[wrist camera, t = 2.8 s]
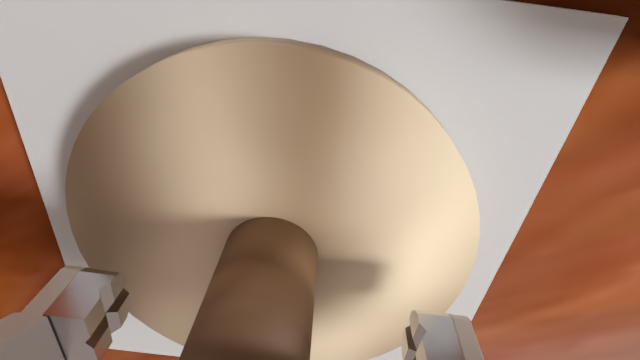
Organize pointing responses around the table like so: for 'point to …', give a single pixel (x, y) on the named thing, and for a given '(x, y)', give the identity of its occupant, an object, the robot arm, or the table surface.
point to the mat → (342, 35)
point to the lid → (273, 202)
